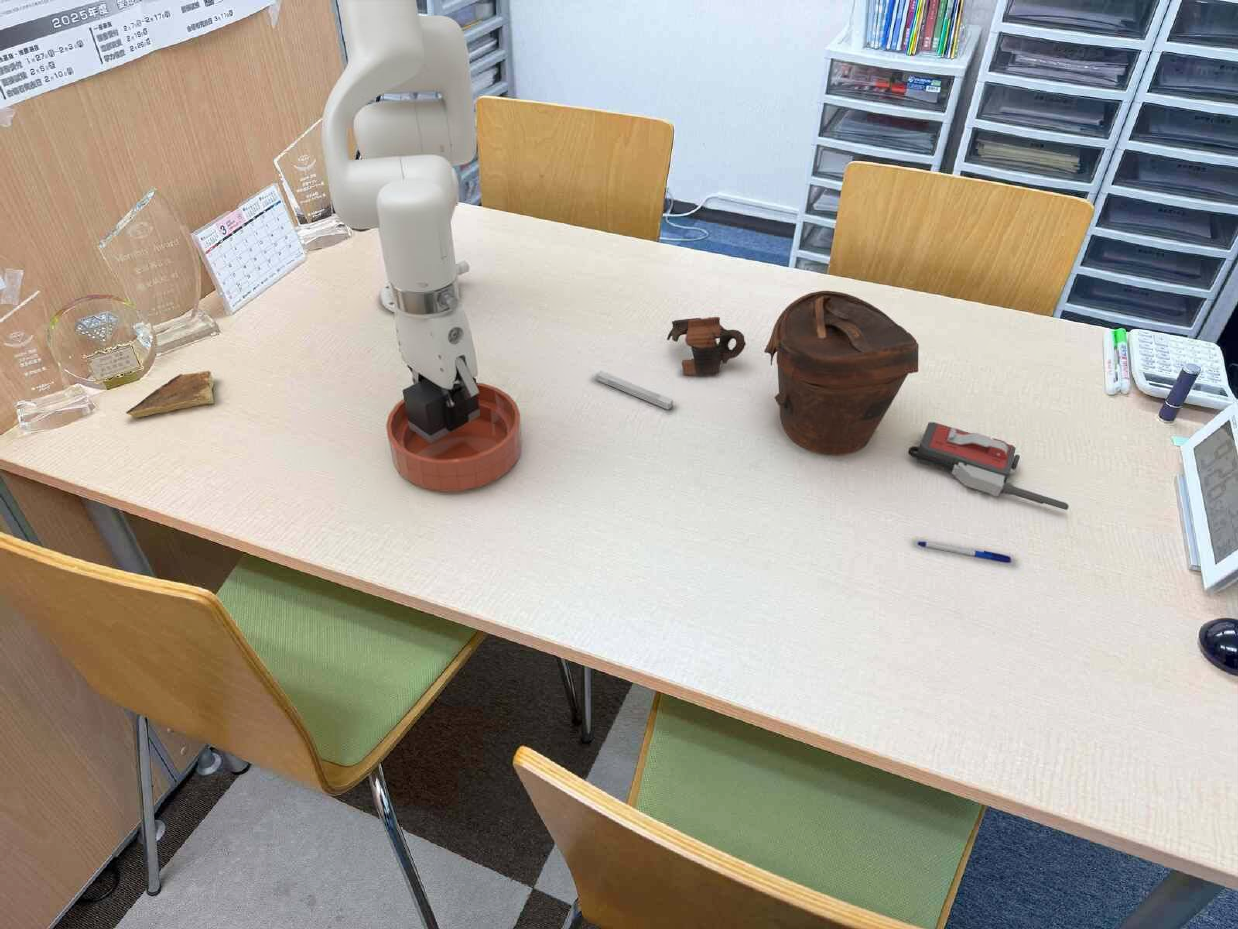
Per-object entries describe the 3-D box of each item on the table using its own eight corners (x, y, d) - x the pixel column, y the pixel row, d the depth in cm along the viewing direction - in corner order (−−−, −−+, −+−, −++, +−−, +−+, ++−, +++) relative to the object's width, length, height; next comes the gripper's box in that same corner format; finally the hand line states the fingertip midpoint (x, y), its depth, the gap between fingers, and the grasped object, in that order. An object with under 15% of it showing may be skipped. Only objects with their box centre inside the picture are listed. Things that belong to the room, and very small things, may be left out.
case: (787, 371, 125) (808, 263, 113) (915, 420, 116) (951, 309, 104) (729, 430, 114) (745, 317, 102) (865, 489, 105) (900, 373, 93)
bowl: (466, 398, 118) (463, 366, 114) (548, 451, 109) (546, 418, 106) (367, 452, 108) (359, 420, 105) (448, 515, 100) (442, 481, 96)
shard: (129, 421, 112) (124, 411, 111) (132, 390, 118) (128, 379, 116) (214, 405, 115) (210, 395, 114) (214, 376, 121) (210, 365, 119)
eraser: (458, 401, 110) (453, 364, 106) (480, 416, 108) (476, 378, 104) (409, 428, 106) (402, 390, 102) (431, 443, 104) (424, 405, 100)
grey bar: (596, 379, 122) (596, 374, 121) (600, 376, 122) (600, 370, 122) (668, 409, 117) (668, 404, 116) (672, 405, 117) (673, 400, 117)
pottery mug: (663, 377, 124) (659, 322, 122) (679, 370, 132) (675, 319, 131) (742, 373, 119) (739, 316, 118) (754, 366, 128) (751, 313, 127)
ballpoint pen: (1008, 559, 97) (1011, 553, 96) (1009, 564, 96) (1012, 558, 96) (917, 543, 98) (919, 537, 98) (917, 548, 98) (919, 543, 97)
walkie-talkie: (901, 469, 108) (1063, 521, 102) (910, 443, 105) (1077, 495, 99) (915, 432, 114) (1069, 479, 108) (924, 407, 111) (1083, 453, 105)
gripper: (499, 305, 92) (510, 432, 104) (407, 256, 101) (427, 379, 113) (446, 330, 88) (463, 460, 100) (355, 277, 97) (381, 402, 109)
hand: (444, 415), depth 106 cm, fingers closed on eraser, 4 cm apart
